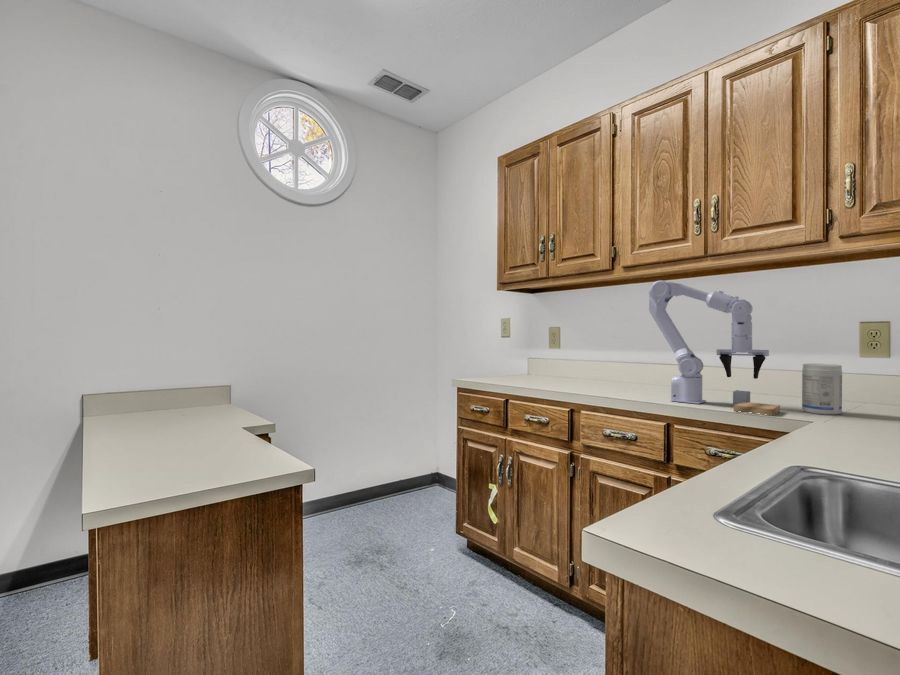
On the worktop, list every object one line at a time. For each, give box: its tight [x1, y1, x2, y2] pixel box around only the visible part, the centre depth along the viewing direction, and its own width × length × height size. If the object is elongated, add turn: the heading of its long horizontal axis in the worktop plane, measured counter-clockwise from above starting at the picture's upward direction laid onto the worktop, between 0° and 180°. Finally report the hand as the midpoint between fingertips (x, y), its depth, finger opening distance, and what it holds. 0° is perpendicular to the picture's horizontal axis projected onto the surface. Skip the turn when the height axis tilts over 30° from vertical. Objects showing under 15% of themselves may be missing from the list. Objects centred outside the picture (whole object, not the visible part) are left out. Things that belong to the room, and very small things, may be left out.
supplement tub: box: [801, 362, 843, 416], centre depth 141 cm, size 10×10×15 cm
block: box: [732, 389, 751, 407], centre depth 151 cm, size 4×4×5 cm
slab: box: [733, 401, 781, 416], centre depth 142 cm, size 10×10×2 cm
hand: (742, 377), depth 151 cm, fingers open, 7 cm apart
